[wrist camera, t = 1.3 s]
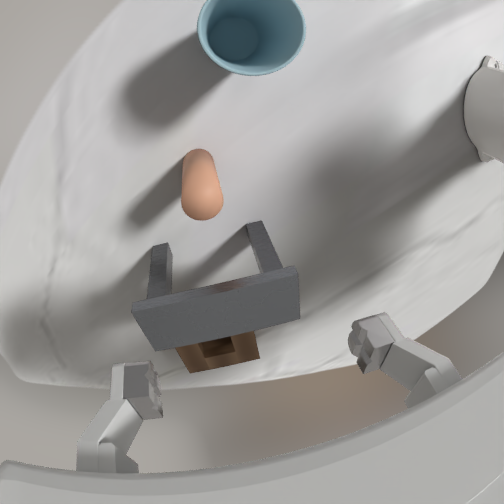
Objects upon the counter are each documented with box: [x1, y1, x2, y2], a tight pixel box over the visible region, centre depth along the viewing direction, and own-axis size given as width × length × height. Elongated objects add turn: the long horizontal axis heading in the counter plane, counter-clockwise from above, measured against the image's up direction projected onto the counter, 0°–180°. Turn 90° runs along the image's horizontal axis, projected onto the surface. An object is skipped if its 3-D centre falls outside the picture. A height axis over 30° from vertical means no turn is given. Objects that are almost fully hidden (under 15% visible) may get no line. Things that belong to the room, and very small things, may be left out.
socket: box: [176, 331, 260, 373], centre depth 45 cm, size 12×12×4 cm
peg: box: [181, 149, 223, 220], centre depth 28 cm, size 3×3×10 cm
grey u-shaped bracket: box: [131, 221, 300, 351], centre depth 32 cm, size 15×6×13 cm, turn 98°
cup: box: [197, 0, 306, 76], centre depth 20 cm, size 8×8×10 cm
